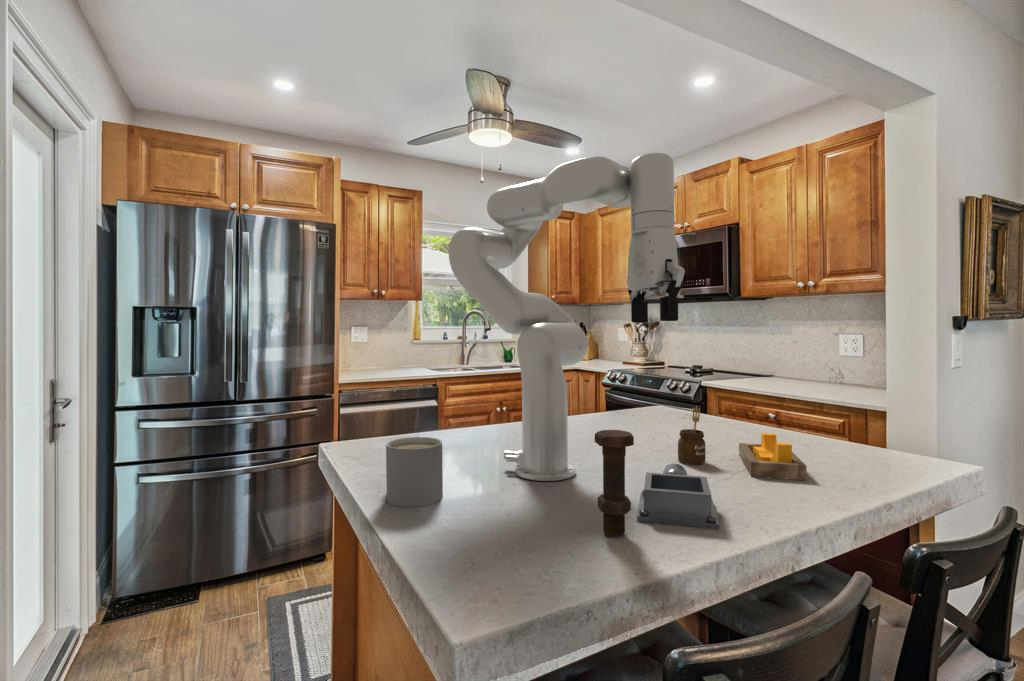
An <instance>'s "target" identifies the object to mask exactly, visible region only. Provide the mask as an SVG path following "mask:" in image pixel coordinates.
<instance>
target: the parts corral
mask: <svg viewBox="0 0 1024 681" xmlns="http://www.w3.org/2000/svg"><path fill="white" fill-rule="evenodd" d="M753 447H761V443H746V442H739V443H738V457H739V456H740V457H741V458H740V457H739V458H740V460H741V459H742V460H741V462H742V461H743V462H742V463H743V466H744V467H745V466H746V467H745V468H747V469H746V470H747V472H748V474H749V475H751V476H750V477H751V478H763V477H771V478H770V479H777V478H788V479H787V480H790V479H802V480H801V481H804V480H806V481H807V465H806V464H805V463H804V462H803V461H802V460H801V458H799V457H798V456H797V455H796V454H795V453H794V452H793V451H792V463H786V462H770V461H758V460H757V459H756V457H755V456H754V454H753Z"/></svg>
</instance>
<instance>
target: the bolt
mask: <svg viewBox="0 0 1024 681" xmlns="http://www.w3.org/2000/svg"><path fill="white" fill-rule="evenodd" d="M594 442H595V443H596V444H597V445H598V446H599V447H601V448H602V451H601V452H602V454H601V455H602V477H603V478H602V484H603V485H602V486H603V487H602V494H600V495H599V496H597V508H598V510H599V511H600V512H601V513H603V514H602V521H603V522H602V523H603V525H602V531H603V533H604V534H605V535H607V536H608V537H610V538H613V537H614V538H617V537H622V536H624V535H625V534H626V514H629V512H630V511H631V510H632V502H631V500H630V497H629V496H627V495H626V487H625V486H626V472H625V471H626V469H625V468H626V455H627V454H626V452H627V451H626V450H627V447H631V446H634V444H635V443H634V442H635V438H634V435H633V434H632V432H630V431H627V430H622V429H602V430H599V431H597V432H595V433H594ZM615 536H616V537H615Z"/></svg>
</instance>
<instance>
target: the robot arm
mask: <svg viewBox="0 0 1024 681" xmlns="http://www.w3.org/2000/svg"><path fill="white" fill-rule="evenodd" d="M674 171H675V164H674V160H673V158H672V157H671V155H668V154H667V153H663V152H650V153H644V154H641V155H638V156H637V157H635V158H634V159H633V160H632V161H631V164H630V166H626V165H623V164H619V163H618V162H616V161H614V160H612V159H610V158H608V157H605V156H600V155H598V156H597V155H596V156H588V157H583V158H579V159H575V160H571V161H567V162H564V163H561V164H559V165H558V166H556V167H554V169H552V170H551V171H550V172H549V173H548V174H547V175H546V176H545V177H542V178H539V179H534V180H530V181H525V182H522V183H519V184H514V185H510V186H506V187H502V188H500V189H498V190H496V191H494V192H492V194H491V195H490V196H489V198H488V199H487V203H486V211H487V214H488V216H489V218H490V219H491V220H492V221H493V223H495V224H496V225H498V226H500V227H502V229H501V230H500V231H499V232H498V231H494V230H489V229H486V228H485V229H483V228H481V227H480V228H479V227H464V228H462V229H459V230H458V231H456V232H455V233H454V234H453V235H452V237H451V238H450V241H449V245H448V260H449V265H450V269H451V271H452V274H453V275H454V277H455V278H456V280H457V282H459V284H460V285H461V286H462V287H463V289H464V290H465V291H466V292H467V293H469V294H470V295H471V297H473V298H474V299H475V300H476V301H477V303H478V304H479V305H480V306H481V308H482V309H483V310H484V311H485V312H486V313H487V315H489V317H490V318H491V319H492V320H493V321H494V322H495V323H496V324H497V325H498V326H499V327H500V329H502V331H504V332H505V333H508V334H511V335H519V336H518V340H517V344H516V345H517V346H516V352H517V358H518V364H519V369H520V377H521V406H522V410H521V411H522V412H521V414H522V415H521V417H522V418H521V423H522V424H521V425H522V427H521V428H522V430H521V431H522V438H521V440H522V441H521V442H522V443H521V444H522V446H521V447H522V448H521V449H520V450H518V451H514V450H504V452H503V459H504V461H505V462H509V463H516V464H517V465H515V469H514V470H515V472H514V473H515V474H516V475H517V476H518V477H519V478H522V479H525V480H526V479H527V480H530V481H535V482H537V481H539V482H555V481H561V480H562V481H563V480H566V479H570V478H572V477H574V476H575V474H576V467H575V466H574V465H573V464H571V463H569V462H568V461H569V460H568V458H569V457H568V455H569V453H568V452H569V451H568V450H569V447H568V445H569V443H568V441H569V440H568V436H569V435H568V434H569V433H568V432H569V431H568V430H569V428H568V426H569V424H568V423H569V422H568V421H569V420H568V415H569V414H568V412H569V411H568V410H569V409H568V385H567V380H566V376H565V373H564V370H563V367H567V366H568V367H569V366H573V365H576V364H578V363H579V362H581V361H582V360H583V359H584V358H585V356H586V355H587V352H588V348H589V346H588V343H589V342H588V338H587V336H586V334H585V332H584V331H583V329H582V328H581V327H580V326H579V324H578V323H577V322H576V321H574V319H572V317H571V316H569V315H568V314H567V312H565V311H564V310H563V309H562V307H560V306H559V305H558V303H556V302H555V301H554V300H553V299H551V298H550V297H548V296H547V295H545V294H541V293H538V292H530V291H529V292H527V291H522V290H520V289H519V288H517V287H516V286H515V285H514V284H513V283H512V282H510V280H509V279H508V278H507V277H506V276H505V275H504V274H503V273H502V272H500V271H499V270H498V269H505V268H509V267H510V266H511V265H513V264H514V263H515V262H516V261H517V259H519V257H520V256H521V254H522V253H523V252H524V251H525V249H526V248H527V247H528V246H529V244H530V243H531V241H532V240H533V239H534V238H535V236H536V235H537V233H538V232H539V231H540V229H541V227H542V225H543V223H544V222H545V221H552V220H556V219H557V218H558V217H559V216H561V214H562V212H563V208H564V205H565V204H568V203H569V204H571V203H573V202H579V201H584V200H593V201H595V202H598V203H601V204H603V205H605V206H607V207H610V208H614V209H623V208H624V209H625V208H629V207H630V242H629V248H628V256H627V278H626V279H627V280H626V286H627V288H628V290H627V293H628V294H629V301H630V302H631V303H630V304H631V305H630V306H631V307H630V308H631V309H630V313H631V315H630V317H631V319H630V320H631V322H632V323H635V324H636V323H639V324H640V323H643V324H644V323H645V324H646V323H648V322H649V308H648V307H649V306H648V305H649V304H648V303H649V302H648V300H646V299H647V297H648V294H649V292H650V291H657V290H659V292H660V294H661V296H662V297H659V319H660V321H661V322H677V321H679V297H681V296H680V295H681V289H682V287H683V279H684V276H685V273H686V270H685V268H684V267H682V266H680V265H679V258H678V247H677V246H678V245H677V240H676V235H675V172H674Z"/></svg>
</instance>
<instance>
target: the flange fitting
mask: <svg viewBox="0 0 1024 681" xmlns="http://www.w3.org/2000/svg"><path fill="white" fill-rule="evenodd" d="M715 508H716V507H715V505H714V500H713V498H712V492H711V489H710V485H709V482H708V477H707V476H697V475H688V472H687V469H685V467H684V466H683V465H681V464H678V463H671V464H668V465H666V466H665V467H664V469H663V471H662V473H660V472H647V471H646V472H645V479H644V486H643V490H642V492H640V495H639V501H638V508H637V514H636V515H637V516H636V522H640V523H642V522H643V523H651V524H660V525H661V524H662V525H672V526H681V527H682V526H683V527H690V528H700V529H701V528H702V529H709V530H720V523H719V520H718V516H717V511H716V509H715Z"/></svg>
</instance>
